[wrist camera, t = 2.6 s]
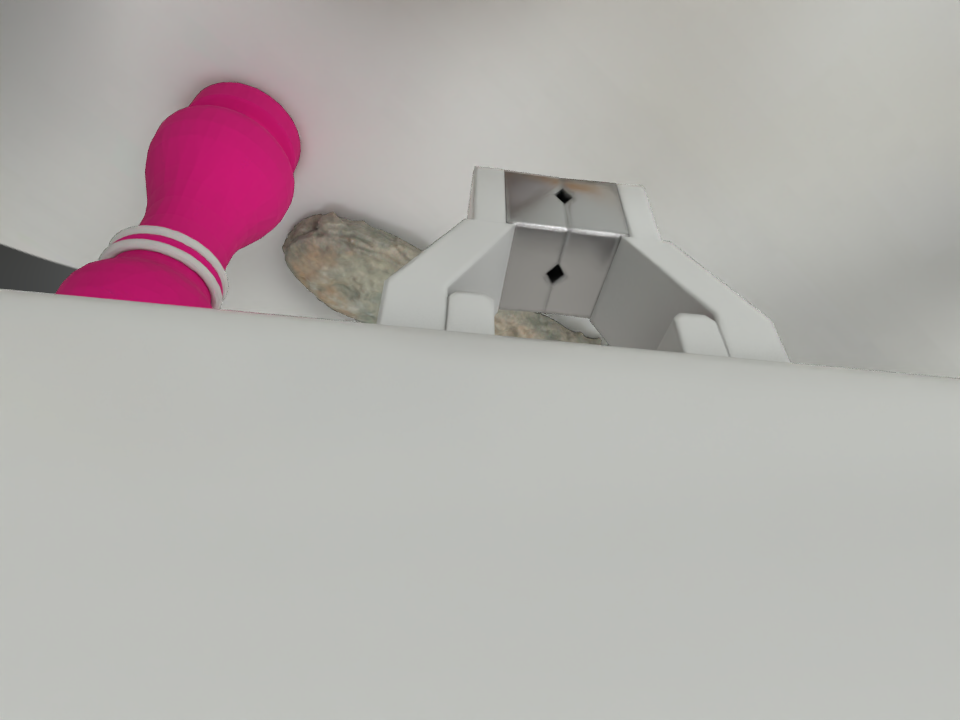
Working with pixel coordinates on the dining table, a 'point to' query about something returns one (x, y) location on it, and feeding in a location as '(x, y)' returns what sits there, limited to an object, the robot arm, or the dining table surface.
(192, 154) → the pepper mill
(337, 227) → the elongated rock
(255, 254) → the dining table surface
